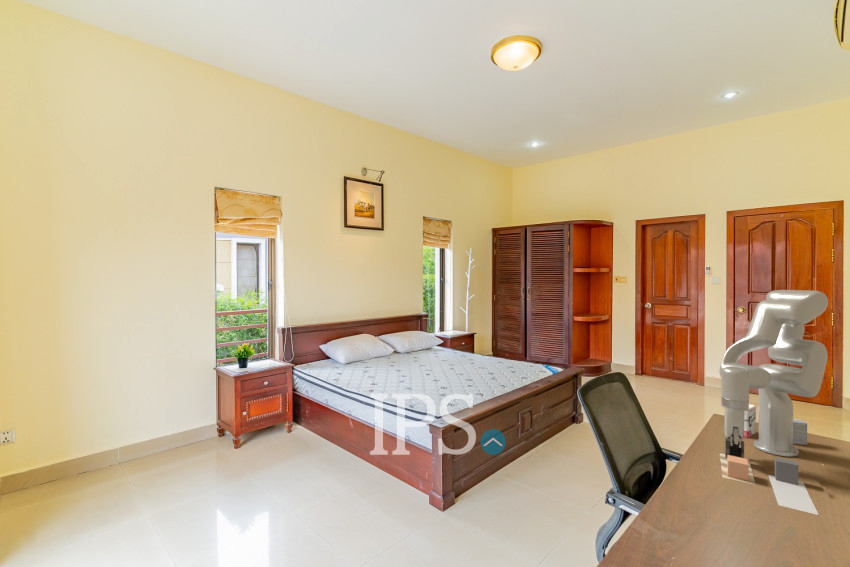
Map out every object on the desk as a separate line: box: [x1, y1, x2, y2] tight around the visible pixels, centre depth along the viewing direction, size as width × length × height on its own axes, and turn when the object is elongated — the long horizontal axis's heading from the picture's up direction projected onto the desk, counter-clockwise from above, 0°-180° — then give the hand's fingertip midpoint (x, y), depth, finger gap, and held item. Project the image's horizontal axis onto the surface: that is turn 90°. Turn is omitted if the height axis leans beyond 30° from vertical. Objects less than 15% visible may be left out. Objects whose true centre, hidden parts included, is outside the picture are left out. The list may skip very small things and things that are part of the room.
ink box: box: [743, 403, 757, 439], centre depth 159 cm, size 8×5×12 cm, turn 123°
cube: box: [727, 455, 749, 481], centre depth 124 cm, size 5×5×5 cm
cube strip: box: [719, 437, 756, 486], centre depth 129 cm, size 20×8×7 cm, turn 145°
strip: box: [768, 457, 819, 516], centre depth 114 cm, size 20×8×7 cm, turn 145°
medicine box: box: [793, 418, 808, 446], centre depth 151 cm, size 8×4×9 cm, turn 71°
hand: (734, 452), depth 136 cm, fingers open, 8 cm apart
